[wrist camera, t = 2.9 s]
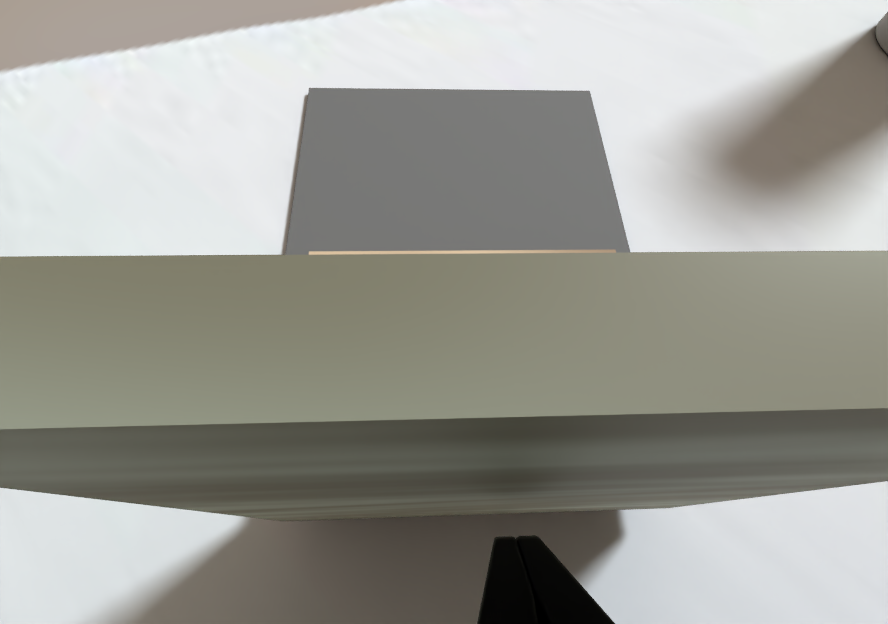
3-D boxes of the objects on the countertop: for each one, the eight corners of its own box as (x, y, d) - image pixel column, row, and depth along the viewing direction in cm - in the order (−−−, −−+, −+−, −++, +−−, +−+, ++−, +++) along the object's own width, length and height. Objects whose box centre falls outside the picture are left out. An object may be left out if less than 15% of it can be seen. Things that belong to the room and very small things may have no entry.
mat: (641, 310, 21) (643, 307, 20) (279, 314, 20) (277, 311, 20) (587, 95, 27) (589, 90, 26) (310, 92, 26) (309, 88, 26)
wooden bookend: (655, 509, 17) (1617, 390, 3) (290, 521, 16) (-410, 438, 3) (603, 267, 21) (912, -201, 8) (316, 270, 20) (111, -236, 7)
